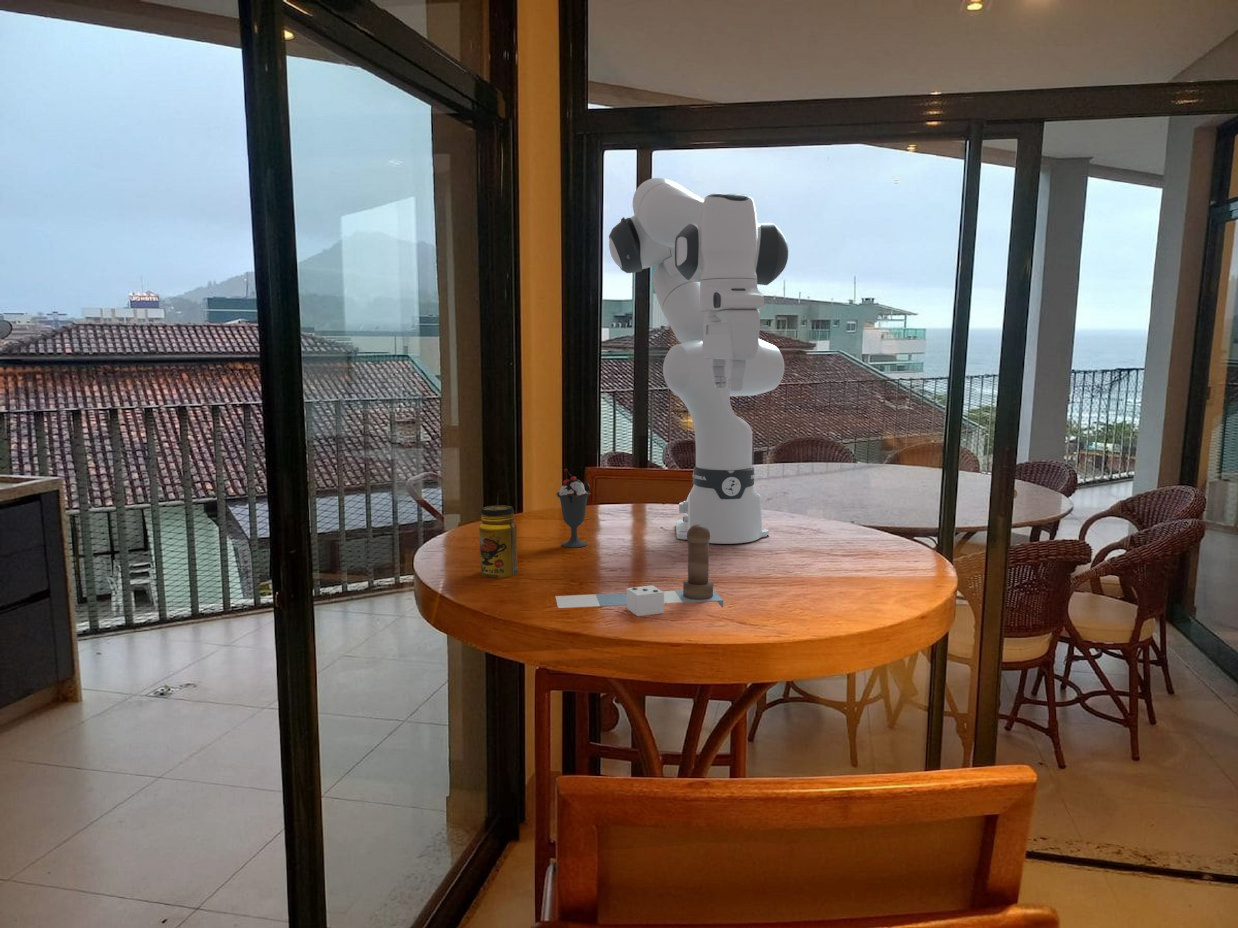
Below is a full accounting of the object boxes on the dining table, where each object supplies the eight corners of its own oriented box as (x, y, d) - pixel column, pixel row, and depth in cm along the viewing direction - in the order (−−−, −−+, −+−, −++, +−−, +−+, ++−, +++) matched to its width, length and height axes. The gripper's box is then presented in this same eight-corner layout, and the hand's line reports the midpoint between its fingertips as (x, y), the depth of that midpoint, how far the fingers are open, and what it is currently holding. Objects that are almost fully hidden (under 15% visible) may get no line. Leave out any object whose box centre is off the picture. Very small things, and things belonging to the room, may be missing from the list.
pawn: (678, 593, 129) (678, 523, 127) (703, 590, 130) (704, 520, 129) (692, 601, 125) (692, 528, 123) (718, 597, 126) (719, 525, 125)
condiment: (474, 584, 138) (472, 511, 137) (483, 571, 147) (481, 502, 145) (520, 584, 138) (518, 511, 137) (526, 571, 147) (524, 501, 145)
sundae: (552, 548, 164) (551, 469, 162) (563, 540, 170) (561, 465, 168) (585, 549, 162) (585, 470, 160) (595, 542, 168) (594, 466, 166)
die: (626, 615, 122) (626, 587, 121) (652, 612, 123) (652, 584, 123) (637, 623, 118) (637, 594, 118) (664, 620, 120) (664, 591, 119)
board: (555, 602, 128) (555, 596, 128) (713, 595, 131) (713, 589, 131) (558, 614, 122) (558, 607, 122) (723, 606, 125) (723, 600, 125)
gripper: (693, 303, 143) (693, 386, 145) (725, 295, 123) (724, 392, 125) (730, 303, 144) (729, 386, 146) (767, 295, 124) (766, 391, 126)
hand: (727, 389), depth 135 cm, fingers open, 8 cm apart
